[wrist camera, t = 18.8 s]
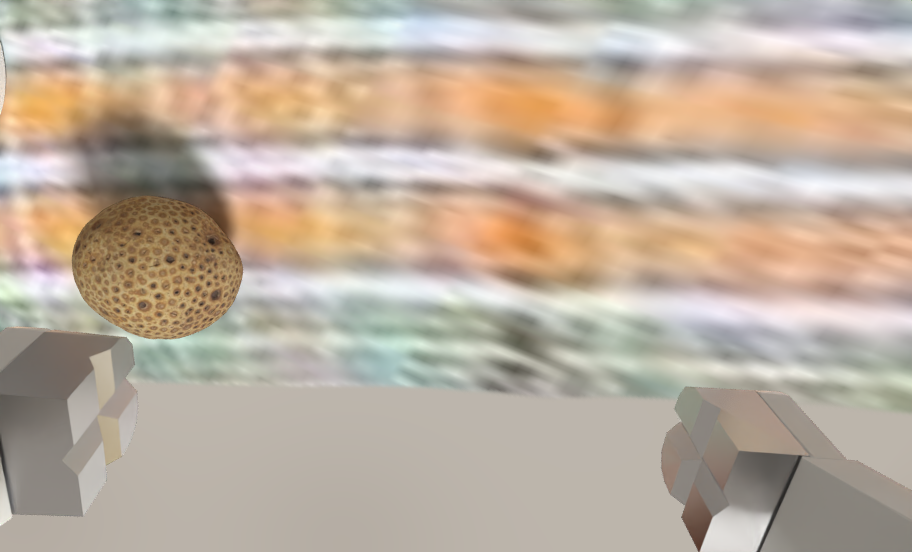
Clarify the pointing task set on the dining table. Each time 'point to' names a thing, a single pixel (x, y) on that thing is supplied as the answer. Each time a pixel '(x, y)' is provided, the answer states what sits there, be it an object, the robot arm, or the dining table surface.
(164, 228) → the natural sponge
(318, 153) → the dining table surface
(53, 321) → the dining table surface
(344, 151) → the dining table surface
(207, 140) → the dining table surface
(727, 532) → the robot arm
